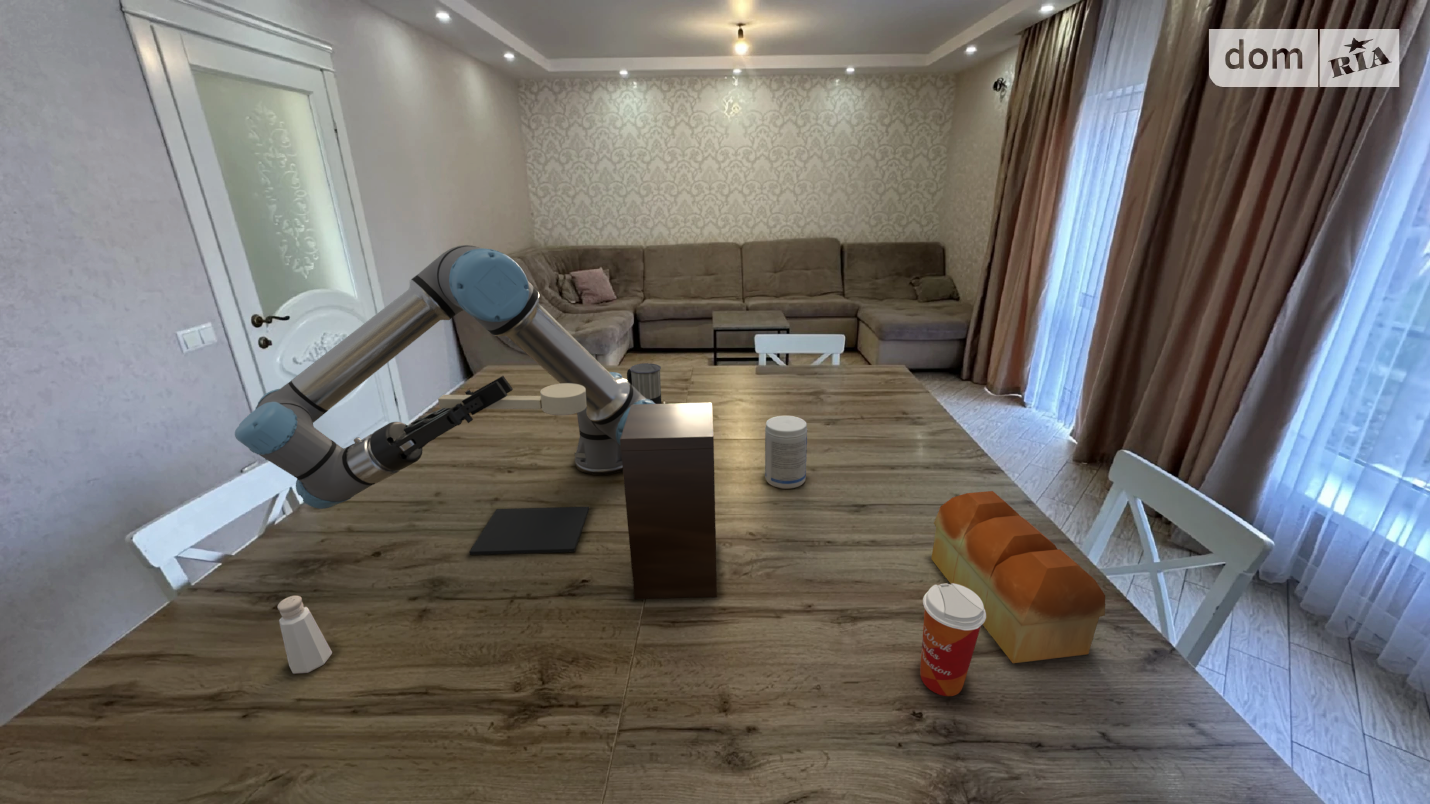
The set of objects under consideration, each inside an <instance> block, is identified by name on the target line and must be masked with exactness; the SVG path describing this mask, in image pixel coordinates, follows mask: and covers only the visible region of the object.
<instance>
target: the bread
mask: <svg viewBox="0 0 1430 804" xmlns="http://www.w3.org/2000/svg"><path fill="white" fill-rule="evenodd" d="M933 525H934V526H935V532H934V538H933V546H932V552H931V558H930V559H931V561H932V562H933V563H934V564H935V566H936V567H937V568H938V570H939V571H940V572H941V574H942V575H943V576H944V578H945V579H946V580H947V581H948V582H949V584H951V583H954V584H958V585H961V586H964V587H966V588H968V589H970V590H972V591H973V592H974V593H975V594H977V595H978V596H979V598H980V599H981V601H982V603H983V606H984V609H985V612H986V619H985V622H984V623H983V624H982V625H981V626H983V627H984V629H985V630H986V631H987V633H989V635H990V637H992V639H993V640H994V642H995V643H996V644H997V645H998V646H999V648H1000V649H1001V650H1002V651H1003V653H1004V654H1005V655H1006V657H1007V658H1008V659H1009V660H1010V662H1011V663H1012V664H1018V663H1027V662H1035V661H1043V660H1051V659H1059V658H1069V657H1075V656H1077V657H1078V656H1085V655H1089V653H1090V650H1091V647H1092V643H1093V640H1094V636H1095V633H1096V630H1097V627H1098V623H1099V619H1100V618H1102V617H1104V616H1106V594H1105V593H1104V591H1103V590H1102V588H1101V587H1100V585H1099V583H1098V582H1097V580H1096V579H1095V578H1094V577H1092V576H1091V575H1090V574H1089V573H1088V572H1087V571H1086V570H1085V569H1084V568H1083V567H1082V566H1080V565H1079V564H1078V563H1077V562H1076V561H1075V560H1073V559H1072V557H1070V556H1069V555H1067V554H1066V553H1065V552H1064V551H1063V550H1062V549H1061V548H1059V549H1058V547H1057V546H1056V544H1055V543H1054V542H1052V541H1051V540H1050V539H1049V538H1048V537H1046V535H1045V534H1043V533H1042V532H1041V531H1040V530H1039V529H1037V528H1036V527H1035V526H1034V525H1032V523H1030V522H1029V521H1028V520H1027V519H1025V518H1024V517H1023V516H1022V515H1020V513H1018V511H1016V510H1015V509H1014V508H1013V507H1012V506H1010V505H1009V504H1008V503H1007V501H1005V500H1004V499H1003V498H1002V497H1000V496H999V495H998V494H997V493H996V492H995V491H994V490H990V491H989V490H987V491H976V492H966V493H962V494H959V495H957V496H953V497H951V498H950V499H949V500H947V501H946V502H944V503H943V504H942V505H940V507H939V509H938V511H937V514H936V516H935V519H934V521H933Z"/></svg>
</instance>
